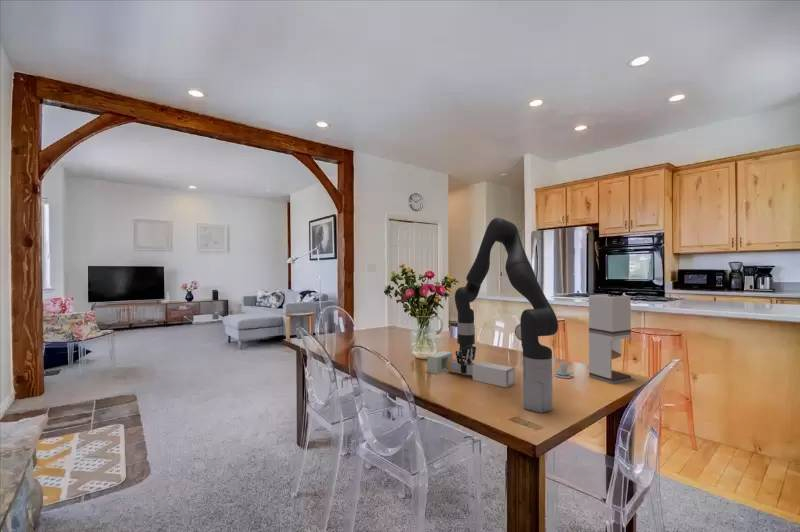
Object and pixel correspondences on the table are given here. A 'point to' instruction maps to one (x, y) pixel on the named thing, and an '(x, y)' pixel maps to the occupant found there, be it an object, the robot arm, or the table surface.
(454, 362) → the steel tube
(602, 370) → the grey notched tower
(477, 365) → the grey sleeve
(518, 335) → the magnifying glass
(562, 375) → the pacifier
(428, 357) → the socket block
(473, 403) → the table surface
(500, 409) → the table surface
